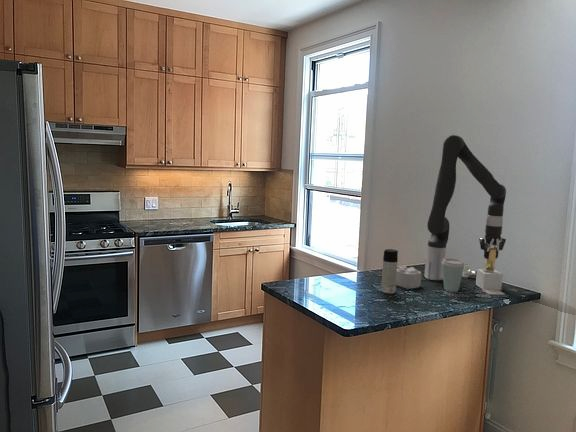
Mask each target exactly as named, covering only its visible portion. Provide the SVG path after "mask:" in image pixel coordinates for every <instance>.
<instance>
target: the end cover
mask: <svg viewBox="0 0 576 432" xmlns="http://www.w3.org/2000/svg"><path fill="white" fill-rule="evenodd" d="M488 252H489V257H488V259H486V258H485V262H484V263H485V265H484V269H485V270H489V271H494V270H495V265H496V248H494V246H491V247H490V249H489V251H488Z"/></svg>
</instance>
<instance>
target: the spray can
mask: <svg viewBox="0 0 576 432" xmlns="http://www.w3.org/2000/svg"><path fill="white" fill-rule="evenodd" d="M398 254H399V251H398V250H397V249H390V248H387V249H385V250H383V256H382V273H381V284H380V285H381V286H380V287H381V288H380V291H381V293H384V294H394V293H396V289H397V288H396V287H397V285H396V276H397V268H398Z"/></svg>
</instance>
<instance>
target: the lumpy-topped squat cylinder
mask: <svg viewBox="0 0 576 432" xmlns="http://www.w3.org/2000/svg"><path fill="white" fill-rule="evenodd" d="M421 280H422V271H420V270H418V269H417V268H415V267H414V266H411V267H407V266H405V265H404V266H403V265H402V266H399V267H397V276H396V286H399V287H401V288H405V289H409V288H411V289H412V288H413V289H416V288H420V287H421V283H422V281H421ZM411 289H410V290H411Z"/></svg>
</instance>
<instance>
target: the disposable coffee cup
mask: <svg viewBox="0 0 576 432" xmlns="http://www.w3.org/2000/svg"><path fill="white" fill-rule="evenodd" d="M465 264H466V263H464V261H463V260H460V259H457V258H453V257H445V258H444V259H443V261H442V269H443V280H442V282H443V288H444V290H445V292H446V291H447V292H451V293H454V292H455V293H456V292H458V291H459V290H460V286H461V281H462V273H463V269H464V266H465Z"/></svg>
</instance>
